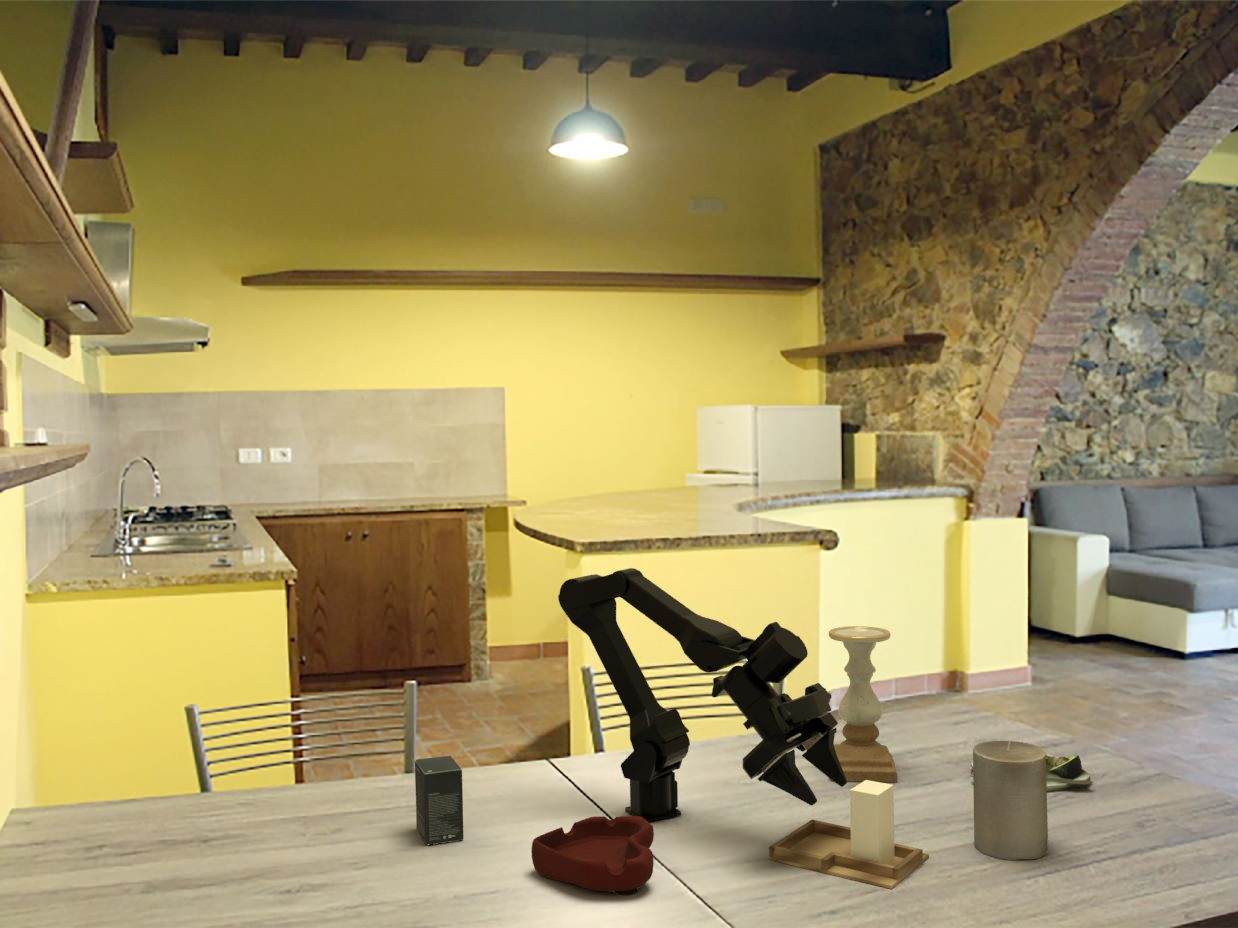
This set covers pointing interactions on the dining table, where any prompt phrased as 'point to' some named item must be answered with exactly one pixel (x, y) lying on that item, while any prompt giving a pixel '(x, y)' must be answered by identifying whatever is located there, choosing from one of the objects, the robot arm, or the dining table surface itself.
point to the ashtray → (598, 854)
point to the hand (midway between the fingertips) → (830, 793)
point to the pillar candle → (1010, 800)
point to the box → (439, 800)
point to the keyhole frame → (842, 855)
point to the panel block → (872, 821)
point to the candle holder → (862, 710)
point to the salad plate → (1064, 773)
